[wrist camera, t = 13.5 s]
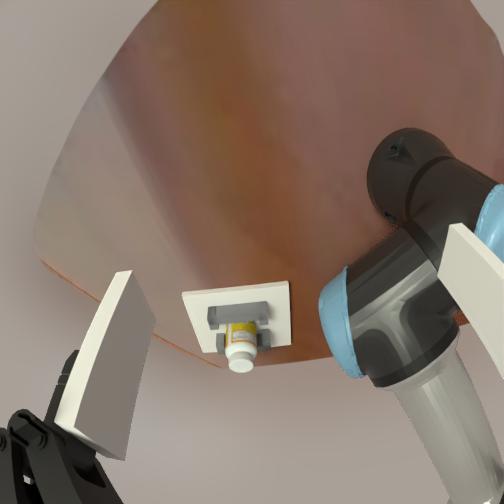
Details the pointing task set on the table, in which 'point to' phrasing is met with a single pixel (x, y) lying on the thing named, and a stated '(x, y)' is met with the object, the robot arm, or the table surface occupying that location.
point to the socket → (240, 314)
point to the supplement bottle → (241, 345)
